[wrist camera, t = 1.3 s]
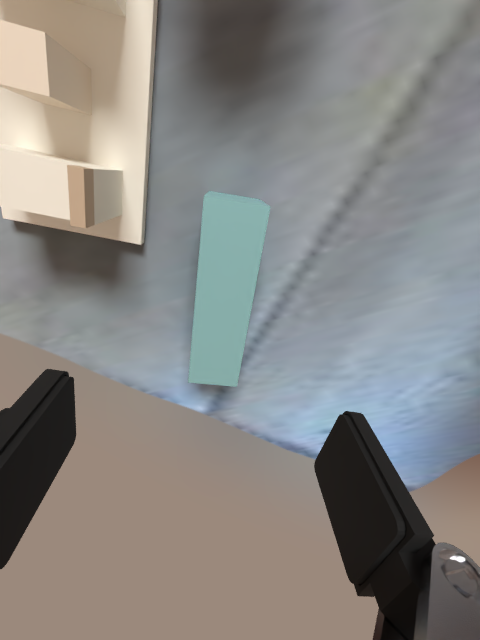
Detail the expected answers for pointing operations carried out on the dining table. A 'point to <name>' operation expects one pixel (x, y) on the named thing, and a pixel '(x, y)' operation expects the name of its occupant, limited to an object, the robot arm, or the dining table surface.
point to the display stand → (77, 114)
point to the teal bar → (225, 285)
